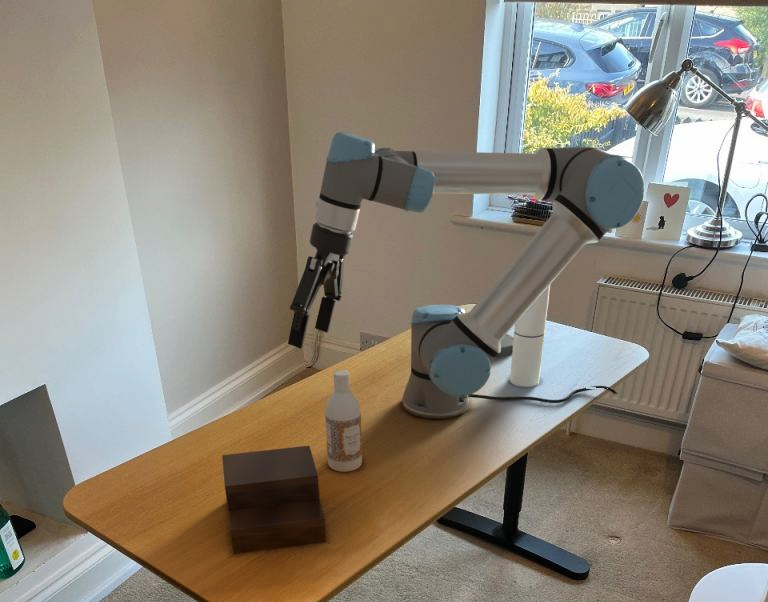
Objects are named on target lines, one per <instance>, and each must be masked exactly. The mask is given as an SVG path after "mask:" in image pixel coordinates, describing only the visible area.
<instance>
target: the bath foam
mask: <svg viewBox="0 0 768 602" xmlns="http://www.w3.org/2000/svg"><path fill="white" fill-rule="evenodd" d="M333 388H334V389H333V392H332V393H331V394H330V396H329V398H328V400H327V402H326V405H325V410H324V418H325V419H324V420H325V435H326V454H327V464H328V466H329V467H330V469H332V470H334V471H336V472H339V473H340V472H341V473H346V472H352V471H355V470H357V469H359V468H360V467H361V465H362V463H363V445H362V443H363V442H362V412H361V405H360V403H359V401H358V399H357V398H356V396H355V394H354V393H353V392H352V391H351V389H350V373H349V371H348V370H345V369H338V370H335V371H334V372H333Z"/></svg>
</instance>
